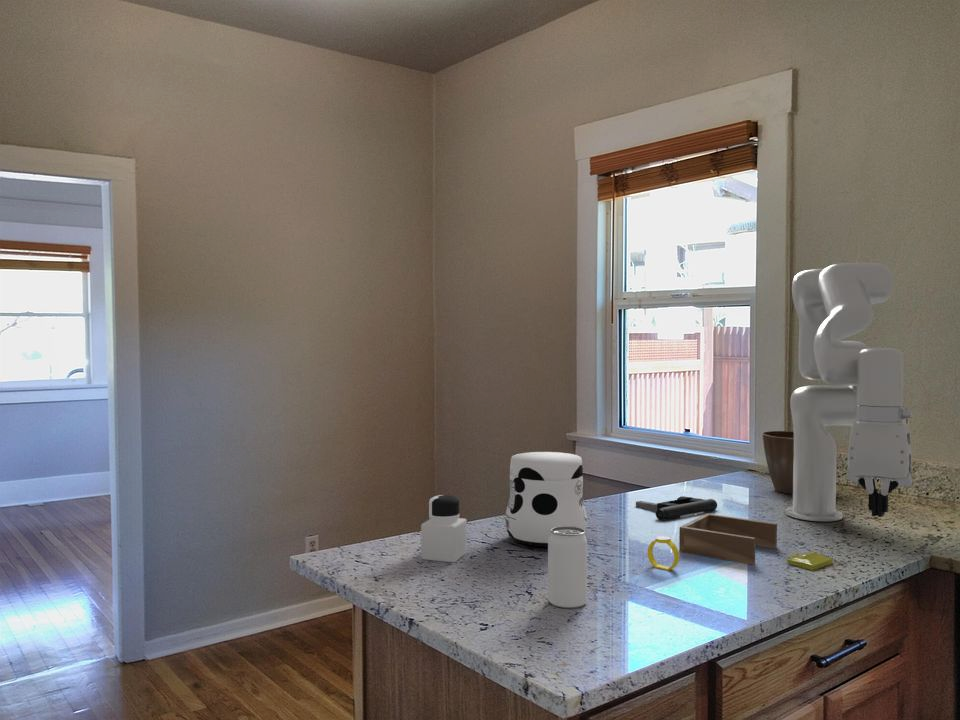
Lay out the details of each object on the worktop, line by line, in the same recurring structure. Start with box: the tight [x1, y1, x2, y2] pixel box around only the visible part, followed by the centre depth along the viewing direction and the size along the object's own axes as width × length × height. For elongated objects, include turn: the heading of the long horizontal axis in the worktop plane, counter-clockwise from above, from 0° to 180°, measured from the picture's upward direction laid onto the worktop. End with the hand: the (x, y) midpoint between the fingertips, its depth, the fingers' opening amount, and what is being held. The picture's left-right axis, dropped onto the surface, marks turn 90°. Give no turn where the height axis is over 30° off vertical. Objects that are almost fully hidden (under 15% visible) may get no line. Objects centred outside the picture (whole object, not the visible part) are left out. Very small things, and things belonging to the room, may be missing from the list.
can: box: [547, 526, 588, 609], centre depth 130 cm, size 6×6×12 cm
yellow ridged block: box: [784, 551, 834, 571], centre depth 152 cm, size 10×9×3 cm
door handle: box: [635, 496, 718, 521], centre depth 196 cm, size 3×20×16 cm
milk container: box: [504, 451, 588, 548], centre depth 167 cm, size 17×17×18 cm
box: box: [678, 512, 778, 565], centre depth 161 cm, size 15×15×5 cm
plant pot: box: [761, 430, 794, 495], centre depth 219 cm, size 15×15×16 cm
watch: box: [647, 535, 680, 572], centre depth 149 cm, size 6×3×6 cm, turn 48°
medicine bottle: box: [420, 494, 468, 564], centre depth 156 cm, size 7×7×12 cm
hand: (878, 515), depth 144 cm, fingers closed
